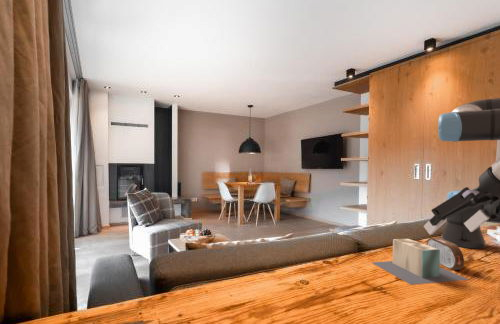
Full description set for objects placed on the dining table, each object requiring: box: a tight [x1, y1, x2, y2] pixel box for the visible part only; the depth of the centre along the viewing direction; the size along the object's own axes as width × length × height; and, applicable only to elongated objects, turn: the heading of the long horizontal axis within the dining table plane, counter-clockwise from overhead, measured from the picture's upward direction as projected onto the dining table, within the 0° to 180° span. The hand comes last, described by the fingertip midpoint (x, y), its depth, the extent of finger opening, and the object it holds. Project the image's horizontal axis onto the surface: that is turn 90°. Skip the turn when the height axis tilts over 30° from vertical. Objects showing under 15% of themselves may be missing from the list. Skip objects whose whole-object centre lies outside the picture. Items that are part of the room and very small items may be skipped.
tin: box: [426, 236, 465, 271], centre depth 92 cm, size 15×3×8 cm, turn 179°
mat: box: [370, 260, 470, 285], centre depth 86 cm, size 20×17×1 cm
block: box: [392, 238, 441, 278], centre depth 87 cm, size 6×8×12 cm
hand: (448, 228), depth 76 cm, fingers open, 13 cm apart
